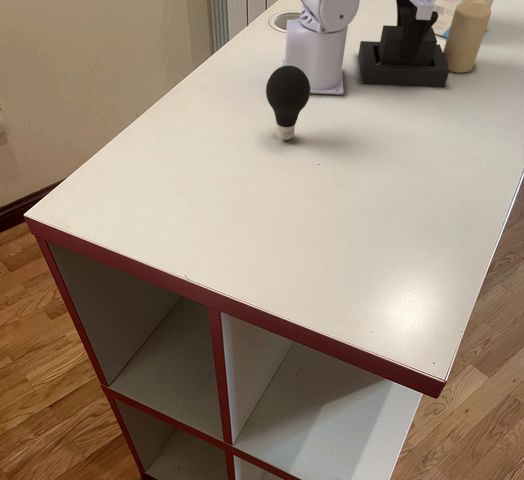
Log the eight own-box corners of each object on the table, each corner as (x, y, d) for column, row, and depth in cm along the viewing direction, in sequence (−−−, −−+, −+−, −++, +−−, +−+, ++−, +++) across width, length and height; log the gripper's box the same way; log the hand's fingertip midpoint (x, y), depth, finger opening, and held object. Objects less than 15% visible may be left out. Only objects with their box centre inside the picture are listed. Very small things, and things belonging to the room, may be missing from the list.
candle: (473, 74, 86) (496, 7, 78) (439, 71, 87) (459, 4, 79) (471, 59, 89) (494, -7, 81) (439, 56, 90) (458, -10, 82)
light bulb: (281, 123, 76) (285, 52, 68) (313, 138, 74) (321, 67, 66) (256, 140, 73) (257, 68, 65) (288, 156, 71) (293, 84, 63)
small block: (380, 65, 84) (386, 38, 80) (378, 51, 86) (383, 25, 83) (430, 67, 83) (437, 41, 80) (425, 53, 86) (432, 27, 83)
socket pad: (361, 83, 84) (364, 67, 82) (358, 56, 89) (360, 40, 87) (444, 87, 84) (449, 71, 82) (435, 59, 89) (440, 44, 87)
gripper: (466, -31, 69) (436, 73, 80) (448, -67, 77) (423, 31, 88) (413, -34, 69) (390, 71, 80) (401, -69, 77) (382, 30, 88)
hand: (404, 50), depth 84 cm, fingers closed on small block, 5 cm apart
